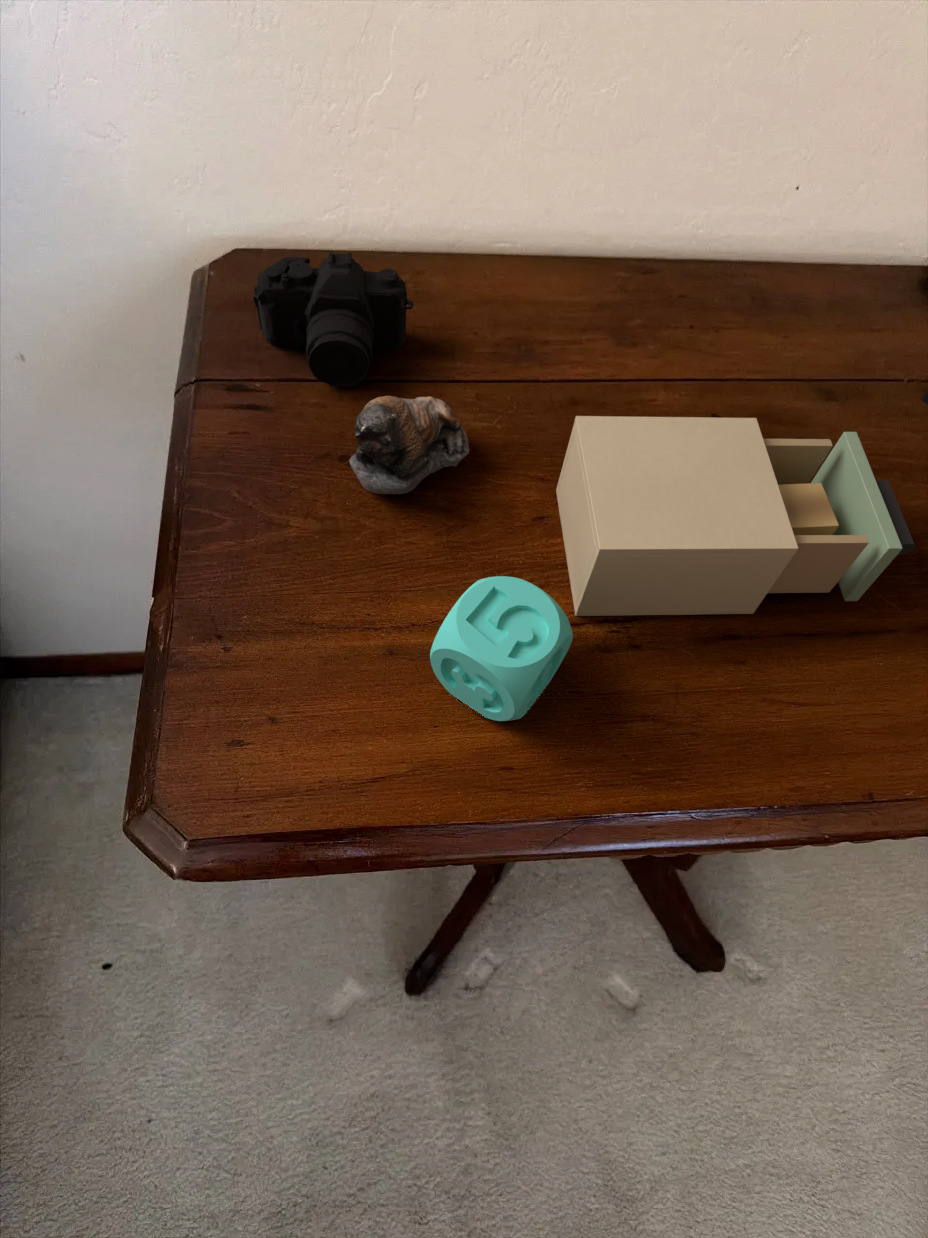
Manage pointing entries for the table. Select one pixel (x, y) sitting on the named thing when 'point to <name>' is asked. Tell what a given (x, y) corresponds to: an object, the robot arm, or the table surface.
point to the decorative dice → (500, 646)
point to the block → (808, 509)
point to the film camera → (332, 313)
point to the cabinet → (671, 516)
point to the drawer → (840, 517)
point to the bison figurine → (405, 442)
